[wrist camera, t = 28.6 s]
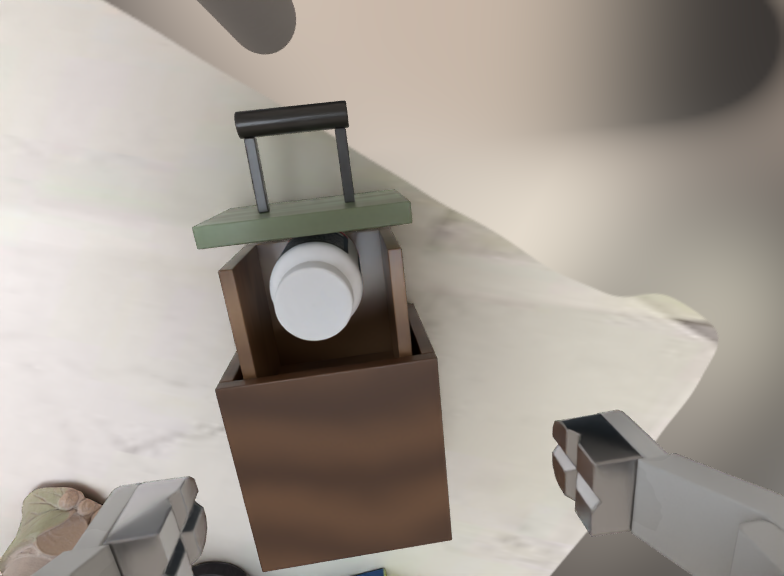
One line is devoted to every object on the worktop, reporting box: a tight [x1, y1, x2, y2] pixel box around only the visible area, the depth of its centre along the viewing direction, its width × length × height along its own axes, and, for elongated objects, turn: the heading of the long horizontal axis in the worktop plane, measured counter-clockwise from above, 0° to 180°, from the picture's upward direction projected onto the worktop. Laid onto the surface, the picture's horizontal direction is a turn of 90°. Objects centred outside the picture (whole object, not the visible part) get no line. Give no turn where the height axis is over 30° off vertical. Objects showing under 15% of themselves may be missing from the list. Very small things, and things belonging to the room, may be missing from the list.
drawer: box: [192, 101, 412, 380], centre depth 28 cm, size 18×11×8 cm, turn 6°
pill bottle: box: [270, 232, 363, 341], centre depth 26 cm, size 5×5×9 cm
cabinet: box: [215, 304, 452, 572], centre depth 31 cm, size 14×13×10 cm
